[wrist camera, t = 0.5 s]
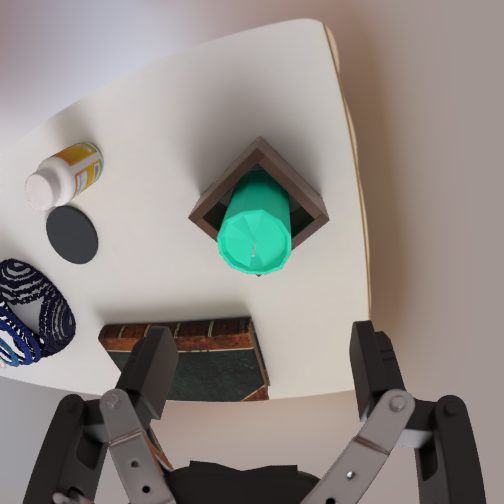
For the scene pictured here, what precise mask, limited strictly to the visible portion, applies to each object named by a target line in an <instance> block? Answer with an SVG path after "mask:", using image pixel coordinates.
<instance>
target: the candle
mask: <svg viewBox="0 0 504 504" xmlns="http://www.w3.org/2000/svg"><path fill="white" fill-rule="evenodd" d="M217 241H218V247H219V254H220V255H221V256H222V257H223V259H224V260H225V261H226V262H227V263H228V265H229V266H230V267H231V268H234V269H237V270H239V271H242V272H244V273H247V274H264V275H266V274H269V273H271V272H274V271H277V270H279V269H282V267H283V266H284V264H285V263H286V261H287V259H288V258H289V256H290V254H291V227H290V213H289V201H288V192H287V191H286V190H285V189H284V188H283V187H282V186H281V185H280V184H279V183H278V182H277V181H276V180H275V179H274V178H273V177H272V176H271V175H270V174H268V173H267V172H266V171H254V172H250V173H249V174H247V175H246V176H244V177H242V178H241V179H240V180H239V182H238V184H237V186H236V188H235V190H234V192H233V195H232V197H231V200H230V203H229V206H228V208H227V211H226V214H225V217H224V220H223V222H222V225H221V228H220V231H219V234H218V236H217Z"/></svg>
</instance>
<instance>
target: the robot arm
mask: <svg viewBox="0 0 504 504" xmlns="http://www.w3.org/2000/svg"><path fill="white" fill-rule="evenodd" d="M349 353H350V362H351V367H352V373H353V379H354V385H355V390H356V398H357V404H358V411H359V418H360V422H364V421H366V422H365V424H364V425H363V427H362V428H361V430H360V431H359V433H358V434H357V435H356V436H355V437H353V439H352V440H351V441H350V442H349V444H348V445H347V446H346V448H345V449H344V450H343V452H342V453H341V454H340V456H339V457H338V458H337V460H336V461H335V462H334V464H333V465H332V466H331V468H330V469H329V470H328V471H327V473H326V474H325V475H324V476H323V478H322V479H319V478H317V477H316V476H314V475H312V474H309V473H306V472H302V471H297V465H286V466H285V465H283V466H282V465H281V466H266V467H261V468H256V469H251V470H245V471H240V470H236V469H233V468H229V467H226V466H223V465H220V464H217V463H209V462H199V461H190V465H189V467H183V468H179V469H176V470H174V468H173V467H172V465H171V464H170V462H169V461H168V459H167V458H166V456H165V454H164V452H163V451H162V448H161V446H160V444H159V443H158V440H157V438H156V436H155V434H154V432H153V430H152V428H151V426H150V422H151V419H157V420H160V419H161V415H162V412H163V408H164V405H165V402H166V398H167V395H168V392H169V389H170V385H171V382H172V379H173V375H174V372H175V369H176V366H177V363H178V349H177V347H176V344H175V342H174V339H173V337H172V334H171V331H170V329H169V327H162V326H152V327H151V328H150V329H149V332H148V334H147V336H146V337H141V338H140V339H139V340H138V341H137V342H136V343H135V344H134V346H133V348H132V351H131V353H130V355H129V357H128V359H127V362H126V364H125V366H124V368H123V371H122V373H121V375H120V378H119V380H118V382H117V385H116V387H115V389H112V390H109V391H107V392H106V393H105V394H103V396H102V397H101V399H95V400H87V401H84V400H83V399H82V398H81V397H80V396H79V395H77V394H70V395H67V396H65V397H64V398H63V399H62V400H61V401H60V403H59V405H58V407H57V410H56V412H55V414H54V417H53V419H52V421H51V424H50V426H49V429H48V431H47V434H46V436H45V439H44V442H43V444H42V447H41V450H40V453H39V455H38V458H37V461H36V464H35V466H34V469H33V472H32V475H31V478H30V481H29V484H28V488H27V491H26V494H25V497H24V500H23V504H95V503H94V498H95V494H96V490H97V486H98V482H99V478H100V475H101V471H102V467H103V463H104V460H105V456H106V453H107V449H108V447H109V451H110V453H111V456H112V459H113V462H114V464H115V467H116V469H117V472H118V475H119V477H120V479H121V482H122V484H123V486H124V489H125V491H126V493H127V496H128V498H129V500H130V503H129V504H357V503H358V502H359V500H360V499H361V497H362V496H363V495H364V493H365V492H366V490H367V489H368V488H369V486H370V485H371V483H372V481H373V480H374V479H375V477H376V476H377V474H378V473H379V471H380V470H381V468H382V466H383V465H384V463H385V462H386V460H387V458H388V457H389V455H390V453H391V451H392V449H393V447H394V446H401V447H409V448H414V451H415V459H416V468H417V477H418V487H419V500H420V504H486V497H485V491H484V484H483V478H482V473H481V467H480V462H479V457H478V452H477V448H476V443H475V439H474V435H473V431H472V427H471V423H470V419H469V416H468V412H467V408H466V405H465V403H464V402H463V400H462V399H460V398H459V397H457V396H454V395H446V396H443V397H441V398H440V399H439V400H438V401H437V402H431V401H422V400H418V399H415V398H414V397H412V395H411V394H410V393H408V392H407V391H406V389H405V387H404V383H403V380H402V376H401V373H400V369H399V366H398V363H397V359H396V356H395V353H394V351H393V346H392V343H391V340H390V339H389V337H388V336H387V335H386V334H385V333H384V332H383V331H380V332H374V328H373V325H372V322H371V320H367V321H356V322H353V326H352V333H351V340H350V348H349ZM109 442H111V443H110V444H109Z"/></svg>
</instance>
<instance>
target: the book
mask: <svg viewBox="0 0 504 504" xmlns="http://www.w3.org/2000/svg"><path fill="white" fill-rule="evenodd" d="M152 326H162V327H169V329H170V331H171V334H172V337H173V339H174V342H175V344H176V347H177V349H178V363H177V366H176V369H175V372H174V375H173V379H172V382H171V385H170V389H169V392H168V395H167V398H166V400H174V401H205V402H242V401H262V400H269V396H268V393H267V391H268V386H270V382H269V378H268V375H267V371H266V368H265V364H264V361H263V357H262V353H261V350H260V346H259V343H258V339H257V336H256V332H255V329H254V325H253V321H252V318H240V319H228V320H214V321H199V322H182V323H162V324H138V325H105V326H104V327H103V328H102V329H101V331H100V334H99V336H98V339H99V342H100V343H101V344H102V346H103V347H104V349H105V350H106V351H107V353H108V354H109V356H110V357H111V359H112V360H113V361H114V363H115V364H116V366H117V367H118V368H119V370H120V371H121V372H122V371H123V368H124V366H125V364H126V362H127V359H128V357H129V355H130V353H131V351H132V348H133V346H134V344H135V343H136V342H137V341H138V340H139V339H140V338H141V337H146V336H147V334H148V332H149V329H150V328H151V327H152Z"/></svg>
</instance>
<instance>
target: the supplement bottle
mask: <svg viewBox="0 0 504 504" xmlns="http://www.w3.org/2000/svg"><path fill="white" fill-rule="evenodd" d="M102 171H103V158H102V155H101V153H100V152H99V150H98V149H97V148H96V147H95V146H94V145H92V144H90V143H87V142H81V143H78V144H75V145H73V146H71V147H69V148H67V149H65V150H63V151H61V152H59V153H57V154H55V155H53V156H51V157H49V158H47V159H46V160H44V161H43V162H42V163H41V164H40V165H39V167H38V169H37V171H36V172H35V173H33V174H32V175H30V176H29V177H28V178H27V180H26V183H25V193H26V197H27V199H28V201H29V203H30V204H31V205H32V206H33V207H34V208H35V209H37V210H39V211H46V210H48V209H49V208H51V207H52V206H62V205H64V204H66V203H67V202H69V201H70V200H72V199H73V198H74V197H75V196H77V195H78V194H79V193H81V192H82V191H83V190H85V189H86V188H87V187H89V186H90V185H92V184H93V183H94V182H96V181H97V180H98V179H99V177H100V176H101V174H102Z"/></svg>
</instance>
